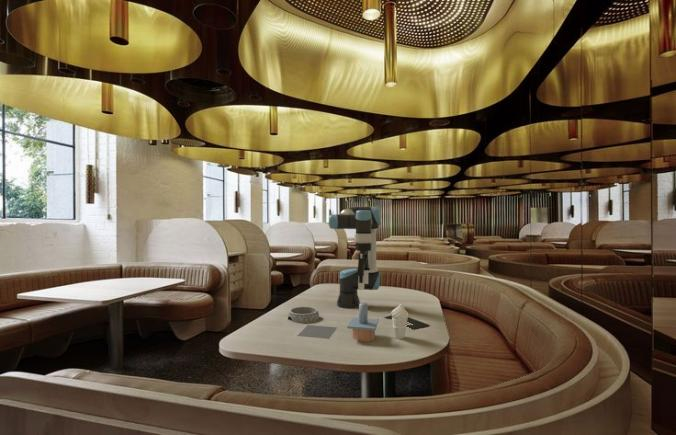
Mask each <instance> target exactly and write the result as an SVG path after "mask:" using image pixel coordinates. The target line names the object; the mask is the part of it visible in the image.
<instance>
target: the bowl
mask: <svg viewBox="0 0 676 435" xmlns="http://www.w3.org/2000/svg"><path fill="white" fill-rule="evenodd" d="M350 333H351V338H353V339H354V340H357V342H361V343H362V342H364V343H367V342H371V341H372V342H373V341H374V340H375V338H376V330H375V331H374V330H362V329H351V332H350Z"/></svg>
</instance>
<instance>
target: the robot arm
mask: <svg viewBox="0 0 676 435" xmlns="http://www.w3.org/2000/svg"><path fill="white" fill-rule="evenodd" d="M380 214H381V213H380V208H379V207H378V206H351V207H348V208H344V209H343V210H341V211H340V213H339V214H330V215H329V217H328V227H329V229H331V230H355V235H354V238H355V242H356V243H355V251H359V253H358V262H357V263H358V264H357V268H348V269H343V270H341V271H340V272H339V294H338V296H337V297H338V298H337V301H336V306H337V307H339V308H343V309H353V308H354V309H355V308H359V304H360V303H361V300H360V296H359V294H358V290H361V291H365V290H367V291H378V290H379V288H380V283H381V275H382V274H381V271H379V268H378V267H377V230H379V226H381V224H382V223H381V222H382V221H381V215H380Z"/></svg>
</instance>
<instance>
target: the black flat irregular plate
mask: <svg viewBox="0 0 676 435" xmlns="http://www.w3.org/2000/svg"><path fill="white" fill-rule="evenodd" d="M383 318H384V319H386V320H392V316H391V315H388V316H384V317H383ZM407 322H409V323H411V324H413V325H411V324H410V325H407V327H409V328H408V329H410V328H411V329H410V330H412V331H413V330H420V328H421V329H424V328H427V327H430V324H428V323H425V322H422V321H421V320H417V319H414V318H412V317H409V316H408V318H407ZM409 323H408V324H409ZM407 327H406V328H407Z"/></svg>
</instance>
